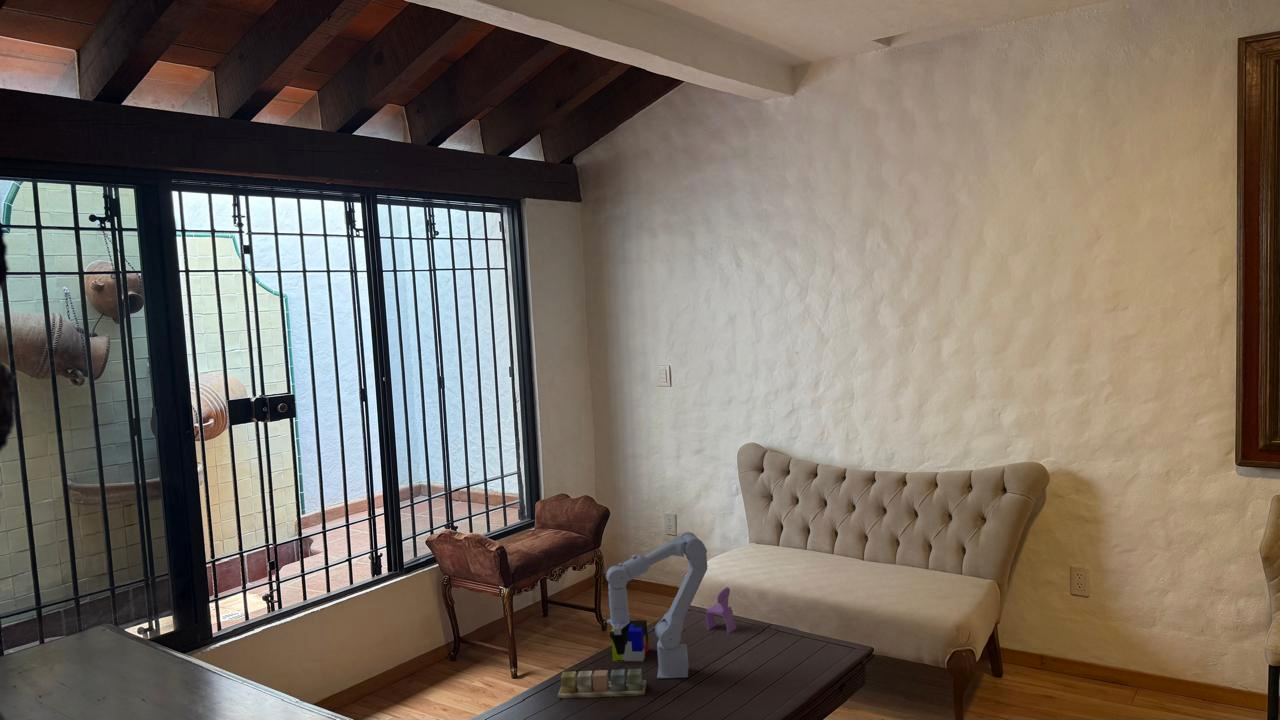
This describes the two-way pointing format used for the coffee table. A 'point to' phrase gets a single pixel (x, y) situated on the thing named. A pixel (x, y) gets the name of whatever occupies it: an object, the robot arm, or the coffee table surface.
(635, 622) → the puzzle toy
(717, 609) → the toy chair
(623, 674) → the rack
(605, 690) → the terracotta block
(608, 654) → the coffee table surface
